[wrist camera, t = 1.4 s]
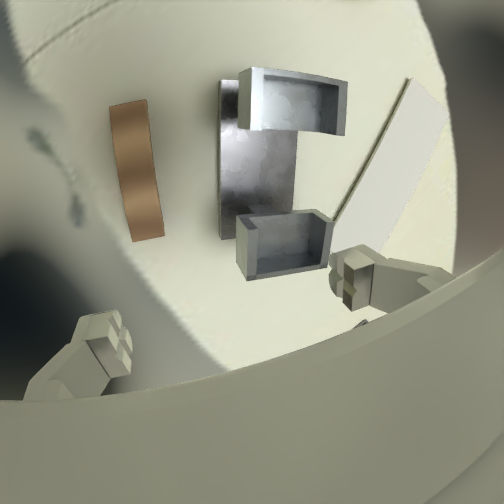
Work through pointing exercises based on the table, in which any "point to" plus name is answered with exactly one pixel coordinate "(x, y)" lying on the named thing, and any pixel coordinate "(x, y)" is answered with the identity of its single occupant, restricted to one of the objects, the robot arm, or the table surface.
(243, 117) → the bracket stand
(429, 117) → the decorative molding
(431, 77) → the table surface
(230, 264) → the table surface
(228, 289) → the table surface
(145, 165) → the rail
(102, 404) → the robot arm
